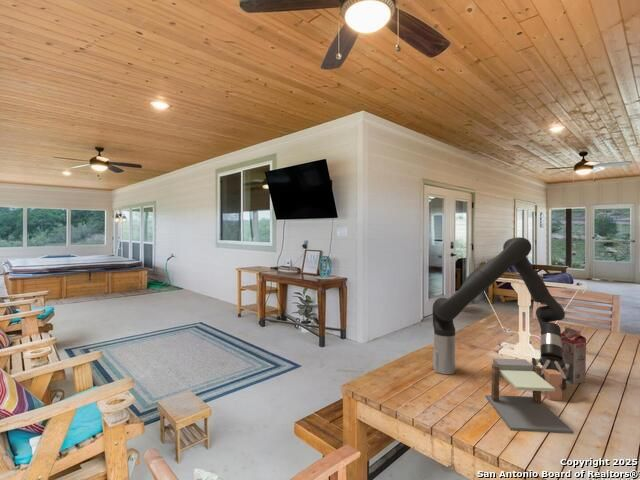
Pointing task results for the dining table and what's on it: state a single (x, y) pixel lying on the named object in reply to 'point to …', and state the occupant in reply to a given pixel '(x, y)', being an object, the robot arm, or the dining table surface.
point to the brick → (553, 384)
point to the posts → (496, 384)
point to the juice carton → (574, 354)
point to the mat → (528, 415)
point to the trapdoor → (521, 375)
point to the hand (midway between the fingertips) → (552, 387)
